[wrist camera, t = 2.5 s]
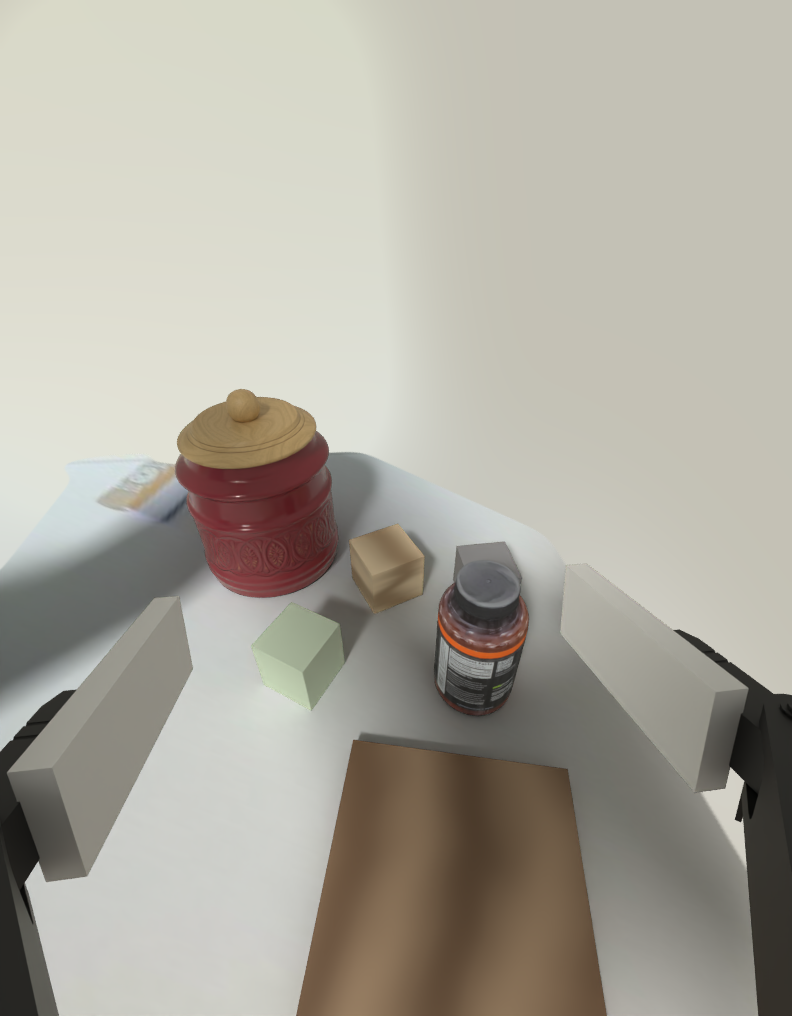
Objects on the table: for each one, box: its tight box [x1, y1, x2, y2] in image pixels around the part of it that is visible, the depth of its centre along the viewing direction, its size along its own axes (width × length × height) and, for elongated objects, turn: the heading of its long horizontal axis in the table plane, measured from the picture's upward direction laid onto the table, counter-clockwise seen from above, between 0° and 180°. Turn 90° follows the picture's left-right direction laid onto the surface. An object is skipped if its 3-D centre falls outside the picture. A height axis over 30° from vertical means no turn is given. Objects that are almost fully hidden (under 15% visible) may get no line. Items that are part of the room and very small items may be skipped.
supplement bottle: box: [434, 560, 529, 715], centre depth 31 cm, size 6×6×11 cm
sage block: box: [251, 602, 345, 711], centre depth 34 cm, size 4×4×5 cm
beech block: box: [349, 524, 425, 614], centre depth 41 cm, size 5×5×5 cm
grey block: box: [453, 542, 522, 584], centre depth 40 cm, size 4×4×4 cm
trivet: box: [296, 740, 607, 1016], centre depth 24 cm, size 14×14×1 cm
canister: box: [175, 389, 338, 598], centre depth 41 cm, size 13×13×18 cm
